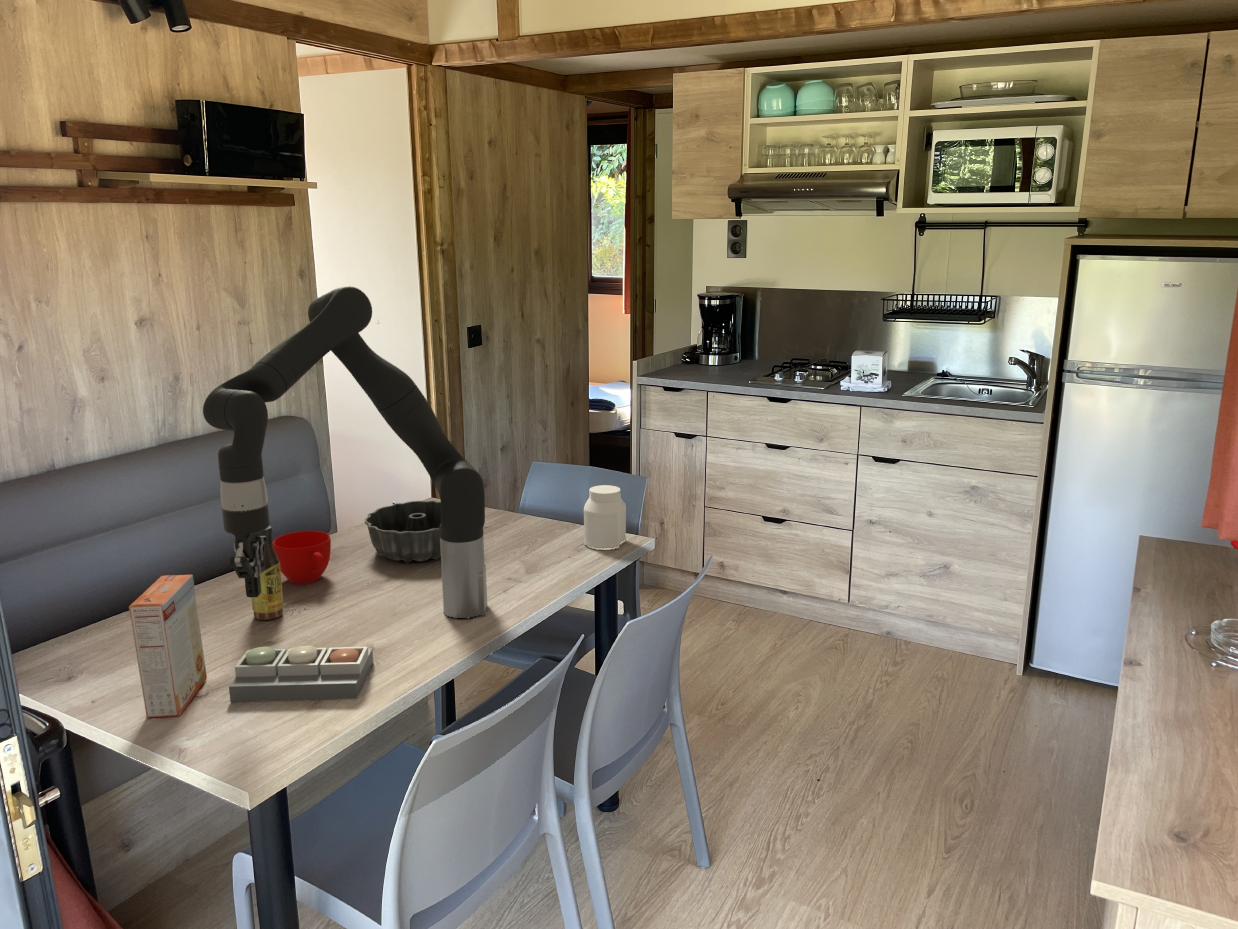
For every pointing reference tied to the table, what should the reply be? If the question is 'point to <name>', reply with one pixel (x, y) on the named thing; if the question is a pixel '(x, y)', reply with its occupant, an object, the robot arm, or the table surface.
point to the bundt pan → (406, 530)
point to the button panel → (301, 678)
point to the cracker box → (168, 645)
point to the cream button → (302, 655)
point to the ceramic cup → (303, 555)
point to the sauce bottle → (269, 585)
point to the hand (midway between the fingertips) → (254, 595)
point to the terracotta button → (344, 656)
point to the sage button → (260, 656)
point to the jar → (604, 517)
